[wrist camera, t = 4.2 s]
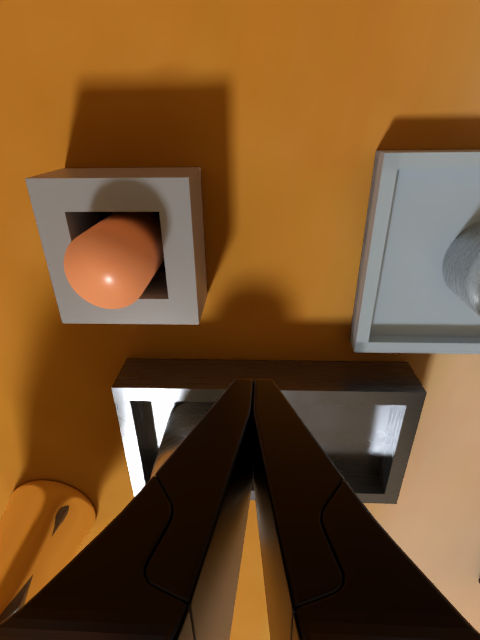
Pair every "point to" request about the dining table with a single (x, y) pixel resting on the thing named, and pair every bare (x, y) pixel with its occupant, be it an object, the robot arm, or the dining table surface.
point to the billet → (464, 267)
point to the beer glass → (39, 538)
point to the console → (126, 196)
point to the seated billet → (179, 429)
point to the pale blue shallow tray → (415, 254)
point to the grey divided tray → (304, 396)
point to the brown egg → (115, 259)
